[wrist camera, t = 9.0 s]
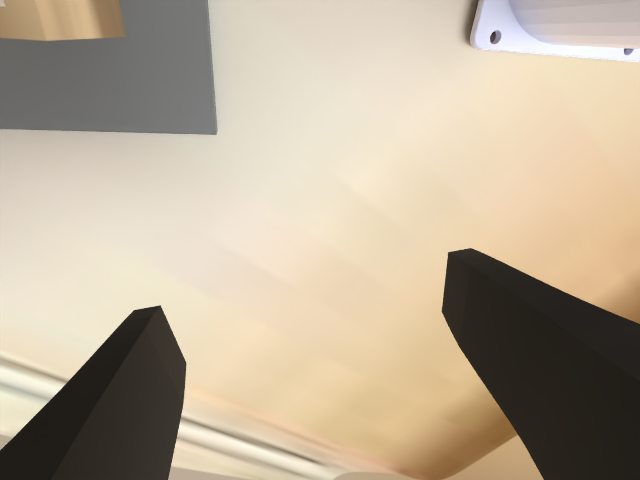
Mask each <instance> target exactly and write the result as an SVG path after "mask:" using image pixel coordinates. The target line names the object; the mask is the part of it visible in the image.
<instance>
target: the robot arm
mask: <svg viewBox="0 0 640 480" xmlns="http://www.w3.org/2000/svg"><path fill="white" fill-rule="evenodd" d="M494 31H495V33H496V38H495V40H494V42H492V43H491V42H490V36H491V34H492V33H493V32H494ZM470 42H471V45H472V46H473V48H475V49H481V50H494V51H506V52H519V53H531V54H544V55H556V56H569V57H581V58H594V59H606V60H619V61H631V62H640V0H479V2H478V6H477V10H476V14H475V19H474V23H473V27H472V31H471V35H470ZM624 48H626V50H625V52H624ZM442 313H443V315H444V317H445V320H446V322H447V324H448V326H449V328H450V330H451V332H452V334H453V336H454V338H455V340H456V341H457V343H458V345H459V347H460V348H461V350H462V352H463V353H464V355H465V356H466V358H467V359H468V361H469V362H470V364H471V365H472V367H473V368H474V370H475V371H476V373H477V374H478V376H479V377H480V379H481V380H482V381H483V383H484V384H485V386H486V387H487V389H488V390H489V392H490V393H491V395H492V396H493V398H494V399H495V401H496V402H497V404H498V405H499V406H500V408H501V409H502V411H503V412H504V414H505V415H506V417H507V418H508V420H509V421H510V423H511V424H512V426H513V427H514V429H515V430H516V432H517V434H518V435H519V437H520V438H521V440H522V441H523V443H524V445H525V446H526V448H527V450H528V452H529V453H530V455H531V457H532V459H533V461H534V463H535V464H536V466H537V468H538V470H539V472H540V473H541V475H542V477H543V479H544V480H640V324H638V323H636V322H633V321H631V320H628V319H626V318H623V317H621V316H618V315H616V314H613V313H611V312H609V311H606V310H604V309H602V308H599V307H597V306H595V305H592V304H590V303H588V302H585V301H583V300H581V299H579V298H576V297H574V296H572V295H570V294H568V293H565V292H563V291H561V290H559V289H557V288H555V287H552V286H550V285H548V284H546V283H544V282H542V281H540V280H538V279H536V278H534V277H531V276H529V275H527V274H525V273H523V272H521V271H519V270H517V269H515V268H513V267H511V266H509V265H507V264H505V263H503V262H501V261H498V260H496V259H494V258H492V257H490V256H488V255H486V254H484V253H481V252H479V251H477V250H474V249H472V248H469V249H464V250H458V251H453V252H448V260H447V269H446V279H445V288H444V297H443V306H442ZM185 376H186V361H185V359H184V357H183V355H182V352H181V350H180V348H179V346H178V343H177V341H176V339H175V337H174V334H173V332H172V330H171V328H170V326H169V323H168V321H167V319H166V317H165V314H164V312H163V310H162V308H161V305H160V306H155V307H149V308H144V309H138V310H134V311H133V312H132V313H131V314H130V315H129V316H128V317H127V318H126V319H125V320H124V321H123V322H122V323H121V324H120V326H119V327H118V328H117V329H116V330H115V331H114V332H113V333H112V334H111V335H110V337H109V338H108V339H107V340H106V341H105V342H104V343H103V344H102V345H101V347H100V348H99V349H98V350H97V351H96V352H95V353H94V354H93V355H92V356H91V357H90V359H89V360H88V361H87V362H86V363H85V364H84V365H83V366H82V367H81V368H80V369H79V371H78V372H77V373H76V374H75V375H74V376H73V377H72V378H71V379H70V380H69V381H68V382H67V384H66V385H65V386H64V387H63V388H62V389H61V390H60V391H59V392H58V393H57V394H56V395H55V396H54V397H53V398H52V399H51V400H50V401H49V402H48V403H47V404H46V405H45V406H44V407H43V408H42V409H41V410H40V411H39V412H38V413H37V414H36V415H35V416H34V417H33V418H32V419H31V420H30V421H29V422H28V423H27V424H26V425H25V426H24V427H23V428H22V429H21V430H20V432H19V433H18V434H17V435H16V436H15V437H14V438H13V439H12V440H11V441H9V442H8V444H6V445H5V446H4V447H3V448H2V449H1V450H0V480H168V477H169V472H170V467H171V463H172V458H173V453H174V448H175V443H176V438H177V433H178V428H179V423H180V418H181V413H182V408H183V401H184V390H185Z"/></svg>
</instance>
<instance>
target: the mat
mask: <svg viewBox="0 0 640 480" xmlns="http://www.w3.org/2000/svg"><path fill="white" fill-rule="evenodd" d="M119 2H120V8H121V13H122V19H123V24H124V30H125V35H126V37H115V38H94V39H73V40H53V41H42V40H26V39H11V38H0V129H27V130H63V131H99V132H136V133H172V134H208V135H216V134H217V120H216V106H215V93H214V80H213V66H212V53H211V40H210V26H209V13H208V0H119Z"/></svg>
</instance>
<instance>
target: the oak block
mask: <svg viewBox="0 0 640 480" xmlns="http://www.w3.org/2000/svg"><path fill="white" fill-rule="evenodd" d="M115 37H126V35H125V30H124V24H123V19H122V13H121V8H120V2H119V0H0V38H11V39H26V40H42V41H53V40H73V39H94V38H115Z"/></svg>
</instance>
